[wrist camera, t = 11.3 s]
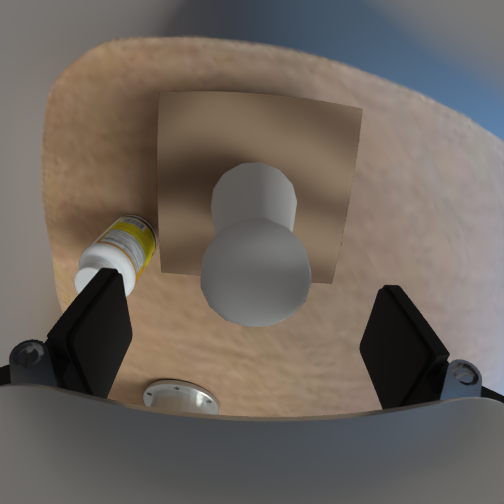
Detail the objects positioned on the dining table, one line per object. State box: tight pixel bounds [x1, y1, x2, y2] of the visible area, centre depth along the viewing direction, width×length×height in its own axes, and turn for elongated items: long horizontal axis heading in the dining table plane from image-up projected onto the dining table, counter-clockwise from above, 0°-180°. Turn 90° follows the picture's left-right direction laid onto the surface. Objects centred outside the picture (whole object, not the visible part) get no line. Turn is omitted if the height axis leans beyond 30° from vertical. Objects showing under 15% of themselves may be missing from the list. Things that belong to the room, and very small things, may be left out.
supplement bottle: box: [75, 215, 157, 297], centre depth 26 cm, size 6×6×10 cm
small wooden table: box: [157, 91, 363, 284], centre depth 25 cm, size 15×15×6 cm
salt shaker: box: [200, 162, 311, 327], centre depth 16 cm, size 6×6×13 cm
